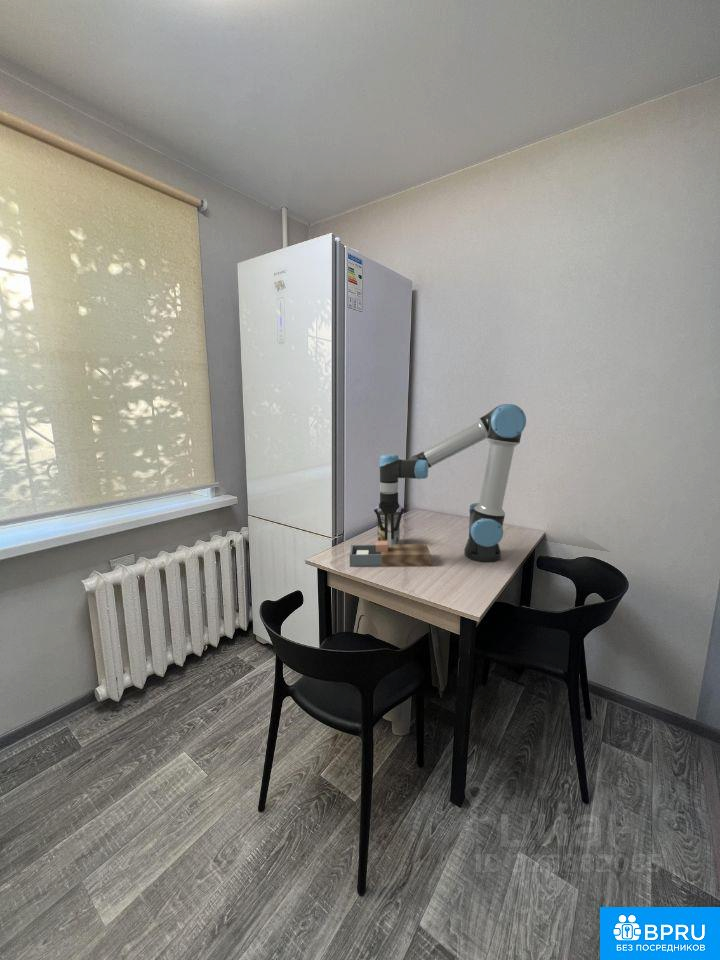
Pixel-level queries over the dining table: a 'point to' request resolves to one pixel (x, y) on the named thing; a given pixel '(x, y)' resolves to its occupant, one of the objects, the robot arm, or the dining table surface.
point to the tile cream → (362, 552)
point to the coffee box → (389, 529)
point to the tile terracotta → (381, 546)
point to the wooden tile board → (406, 555)
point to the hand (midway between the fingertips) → (389, 546)
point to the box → (365, 556)
